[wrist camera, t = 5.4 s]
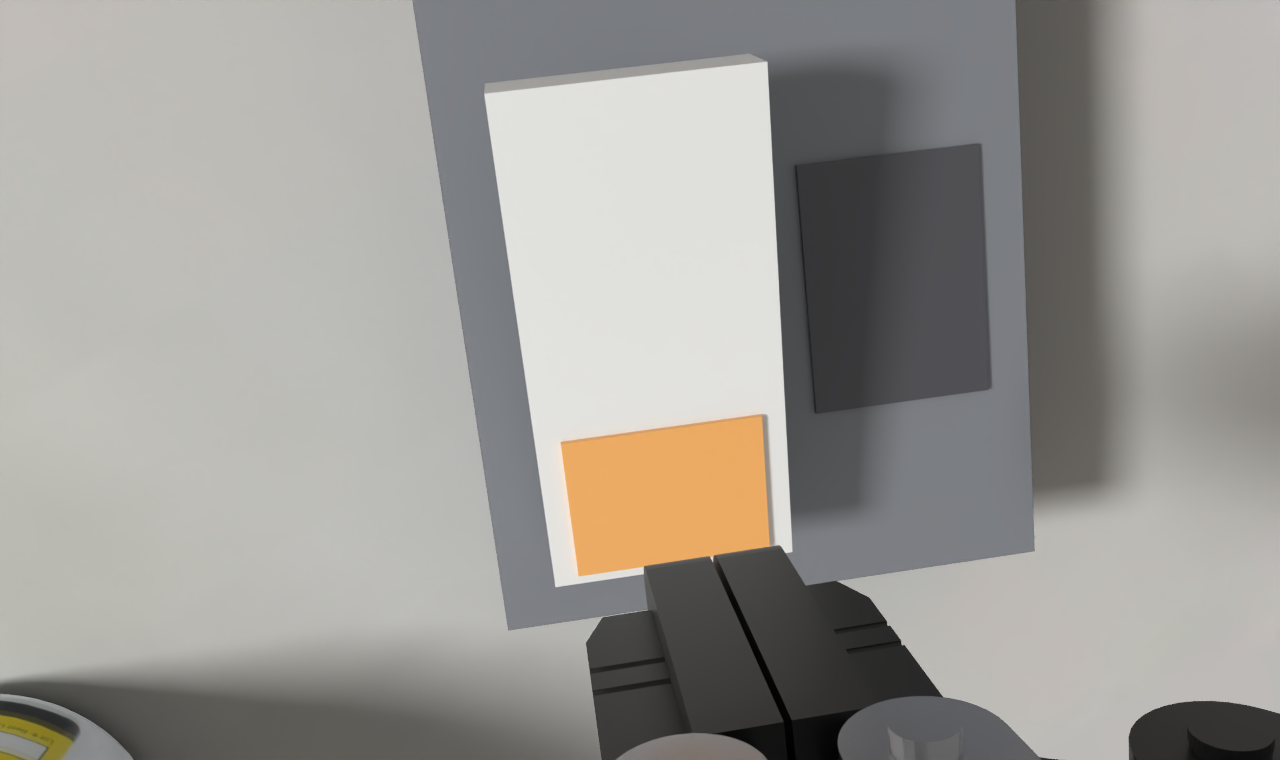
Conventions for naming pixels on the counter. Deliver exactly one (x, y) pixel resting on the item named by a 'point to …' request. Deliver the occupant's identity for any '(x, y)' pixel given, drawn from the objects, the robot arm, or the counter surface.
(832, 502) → the power strip
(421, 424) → the counter surface
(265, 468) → the counter surface
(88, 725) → the pill bottle
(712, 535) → the rocker outer
